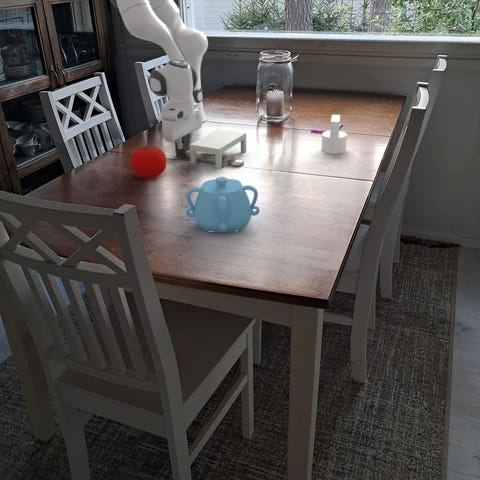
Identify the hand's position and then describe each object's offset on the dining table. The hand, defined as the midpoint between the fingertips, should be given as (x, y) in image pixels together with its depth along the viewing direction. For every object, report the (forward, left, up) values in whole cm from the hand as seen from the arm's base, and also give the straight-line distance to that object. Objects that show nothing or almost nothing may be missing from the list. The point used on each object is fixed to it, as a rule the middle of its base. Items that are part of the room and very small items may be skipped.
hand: (184, 146), depth 188 cm
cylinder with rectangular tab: (+47, +29, -4) cm, 56 cm away
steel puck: (+22, 0, -4) cm, 22 cm away
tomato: (0, -22, -4) cm, 22 cm away
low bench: (+12, +4, -4) cm, 13 cm away
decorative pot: (+40, -42, -4) cm, 58 cm away
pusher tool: (+8, 0, -4) cm, 9 cm away
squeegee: (+37, +46, -5) cm, 59 cm away
